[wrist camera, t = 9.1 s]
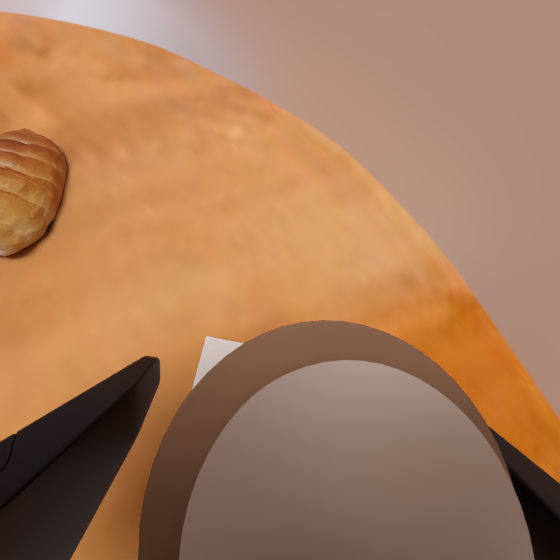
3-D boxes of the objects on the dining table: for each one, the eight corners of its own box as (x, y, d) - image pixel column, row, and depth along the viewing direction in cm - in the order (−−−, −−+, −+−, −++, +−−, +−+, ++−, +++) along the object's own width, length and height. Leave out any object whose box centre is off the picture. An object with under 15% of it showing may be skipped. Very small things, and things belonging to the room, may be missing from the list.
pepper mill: (334, 462, 16) (717, 836, 3) (232, 484, 15) (86, 1137, 2) (314, 358, 18) (485, 282, 4) (222, 374, 17) (107, 338, 4)
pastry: (10, 140, 23) (-35, 95, 19) (95, 159, 23) (66, 117, 19) (-62, 245, 20) (-132, 214, 16) (37, 266, 20) (-11, 240, 16)
